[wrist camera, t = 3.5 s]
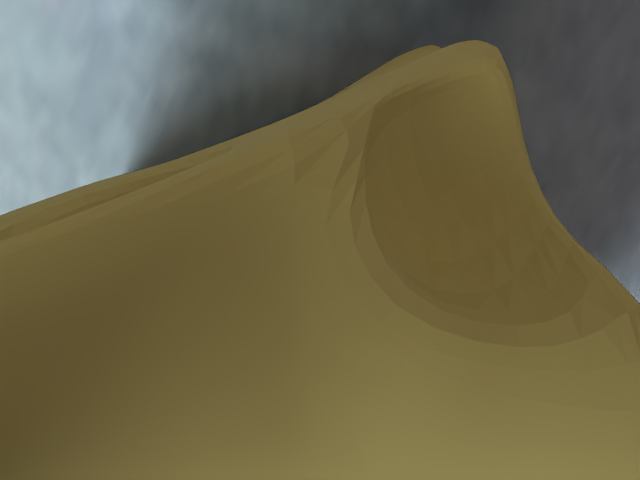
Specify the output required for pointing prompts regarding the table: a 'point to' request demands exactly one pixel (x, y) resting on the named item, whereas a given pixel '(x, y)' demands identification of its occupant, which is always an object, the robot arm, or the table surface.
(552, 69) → the table surface
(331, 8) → the table surface
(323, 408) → the cheese
